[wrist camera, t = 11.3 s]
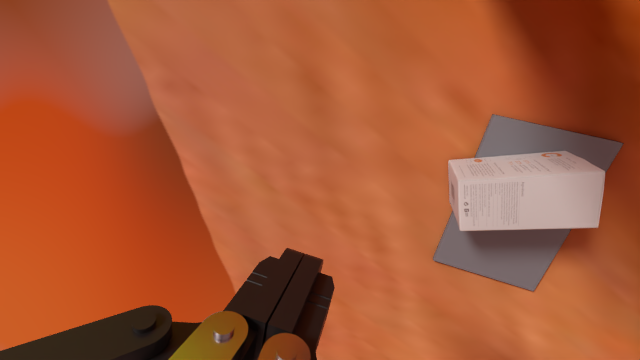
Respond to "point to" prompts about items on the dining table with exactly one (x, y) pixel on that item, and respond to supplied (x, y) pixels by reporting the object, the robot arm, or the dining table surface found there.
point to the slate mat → (518, 245)
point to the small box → (525, 192)
